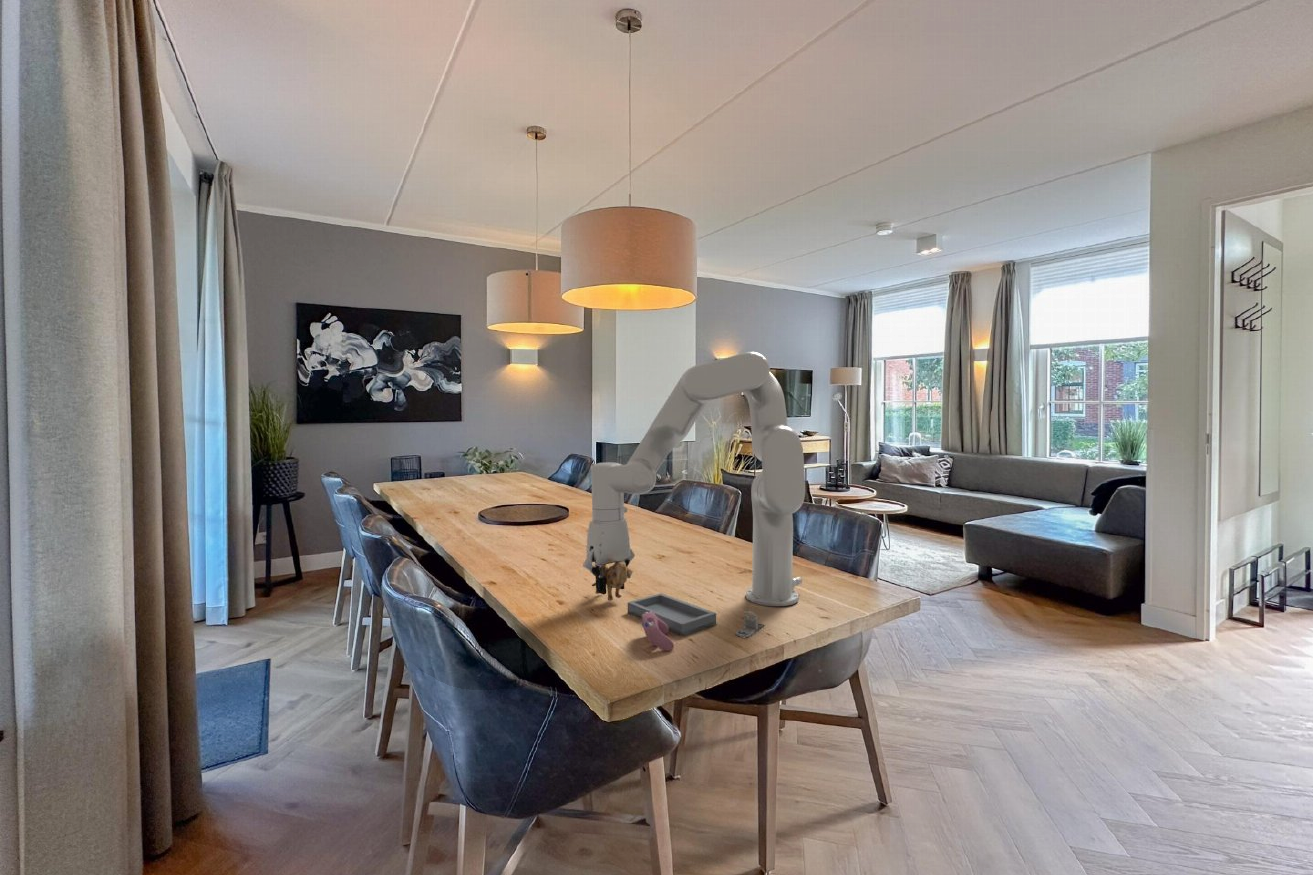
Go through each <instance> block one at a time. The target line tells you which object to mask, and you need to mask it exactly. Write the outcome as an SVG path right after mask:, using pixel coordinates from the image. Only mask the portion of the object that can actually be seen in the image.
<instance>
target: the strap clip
mask: <svg viewBox="0 0 1313 875" xmlns="http://www.w3.org/2000/svg"><path fill="white" fill-rule="evenodd" d="M747 615H750V616H754V618H752V617H748V616H747ZM758 619H759V618H758V615H757V613H755V612H753V611H749V610H748V611H745V612H744V614H743V621H744V623H743V624H744V627H741V628H740V629H738V630H737V631H736V633H735V636H736V635H737V636H736V637H738V636H740V637H739V638H742V637H745V638H744V639H749V637H750V636H751V637H753V636H754V635H755V634H756V632H759V631H761V630H762V628H763V629H764V628H765V627H764V626H765V624H763V623H759V621H758ZM760 625H763V626H760ZM754 633H755V634H754ZM753 634H754V635H753ZM752 635H753V636H752ZM751 637H750V638H751Z"/></svg>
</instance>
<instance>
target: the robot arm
mask: <svg viewBox="0 0 1313 875" xmlns="http://www.w3.org/2000/svg"><path fill="white" fill-rule="evenodd" d="M770 370H771V367H770V363H769V361H768V360H767V358H766V357H765V356H764V355H763V354H761V353H759V352H756V351H745V352H742V353H738V354H735V355H732V356H728V357H724V358H721V359H717V360H713V361H709V362H704V363H700V364H696V365H694V366H692V367H689V368H688V369H686V370H685V372H684V373H683V374H682V375H681V377H680V378H679V380H678V381H677V383H676V384H675V385H674V387H673V389H672V391H671V393H670V395H669V396H668V397H667V399H666V400H665V402H664V404H663V405H662V407H661V408H660V410H659V412H657V415H655V418H654V420H653V421H652V423H651V424H650V427H649V428H648V430H647V432H646V433H645V435H644V437H643V438H642V439H641V441H640V443H639V444H638V445H637V447H636V449H635V451H634V452H633V453H632V455H631V457H630V458H629V459H628V461H627V463H626V464H621V463H618V462H609V461H608V462H606V461H605V462H598V463H595V464H593V465H592V466H591V471H590V473H591V474H590V476H591V478H590V479H591V480H590V481H591V505H592V506H591V507H592V508H591V509H592V511H591V512H592V513H591V514H592V521H589V524H588V529H587V536H586V558H585V560H584V562H583V564H582V565H583V566H582V567H583V568H584V569H586V570H588V571H589V572H590V573H591V574H592V575H593V576H594V577H595V583H596V586H595V589H596V590H595V592H596V591H597V592H598V593H599V594H601V595H602V596H603V595H604V596H605V595H606V594H607V585H606V578H605V577H604V572H605V566H606V565H609V564H617V563H619V562H624V563H626V567H629V565H630V563H631V561H632V560H633V559H634V557H635V556H636V555H635V553H634V552H633V550H632V549H631V541H630V540H631V539H630V532H629V527H628V521H627V519H626V518H625V513H627V512H628V508H627V507H626V506H625V501H624V500H625V498H624V497H625V494H631V495H644V494H647V493H649V492H650V491H651V490H653V489H654V487H655V485H656V482H657V472H658V470H660V467H661V466H662V464H663V463H664V461H665V459H666V458H667V457H668V456H669V454H670V453H671V452H672V450H673V449H674V448H675V447H676V446H677V445H679V444H680V443H682V442H683V440H684V439H685V438H686V437H687V436H688V434H689V432H690V431H691V429H692V427H693V426H694V424H695V423H696V422H697V419H699V416H700V414H701V413H702V412H703V411H704V409H705V407H706V405H708V402H710V401H714V400H718V399H722V398H726V397H730V396H734V395H738V394H741V393H743V395H744V396H745V398H746V400H747V403H748V407H749V413H750V423H751V424H750V426H751V427H750V428H751V429H750V430H751V448H752V452H753V456H755V457H756V458H757V459H758V461H760V462H761V469H762V471H760V472H759V473H757V474H756V476H755V477H754V478H753V481H752V483H751V488H750V492H751V494H750V495H751V505H752V506H751V507H752V587H751V588H749V589H747V590H746V592H745V597H746V599H747V600H748V601H749V602H752V603H754V604H756V605H762V606H768V607H787V606H792V605H794V604H796V603H797V602H799V600H800V598H799V597H800V596H799V594H798V593H797V591H795V590H794V588H795V587H797V586H799V585H800V586H801V584H802V583H803V580H802V578H801V577H800V576H796V577H793V558H794V556H793V550H794V549H793V548H794V542H793V541H794V521H793V520H794V519H793V514H795V513H796V512H797V511H798V510H800V509H801V507H802V505H803V504H804V502H805V497H806V477H805V476H806V475H805V474H806V473H805V459H804V447H803V444H802V441H801V438H800V437H799V435H798V433H797V431H795V430H794V429H792V428H791V427H789V425H788V416H787V409H786V408H787V407H786V400H785V395H784V391H783V388H782V386H781V384H780V382H779V381H778V379H777V378H776V377H775V376H774V375H773V373H772V372H771V371H770ZM593 563H594V565H593ZM599 567H600V569H599ZM624 589H625V583H624V584H623V585H622V587H620V590H624Z"/></svg>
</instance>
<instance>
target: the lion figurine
mask: <svg viewBox="0 0 1313 875" xmlns="http://www.w3.org/2000/svg"><path fill="white" fill-rule="evenodd" d="M599 569H600V567H599ZM632 575H633V570H632V569H630V568H629V566H627V567H626V563H624V562H619V563H617V564H615V563H613V564H612V565H610V566H608V564H606V566H605V572H604V577H605V578H606V592H607V600H608V602H609V601H613V600H614V597H613V592H612V591H613V589H615V591H614V593H615V595H614V596H615V598H617V599H620V598H622V595H621V594H620V590H621V589H620V587H622V585H623V584H624V585H625V583H626V582H627V581H628V579H629V580H630V579H631V576H632ZM591 586H592V587H596V582H594V583H593V584H591ZM595 594H597V595H598V594H600V593H598V592H597V591H596V590H595Z"/></svg>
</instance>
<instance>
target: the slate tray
mask: <svg viewBox="0 0 1313 875" xmlns="http://www.w3.org/2000/svg"><path fill="white" fill-rule="evenodd" d="M650 611H651V612H652V613H654V614H655V615H656V616H657V617H658V618H659V619H661V620H662V621H663V622H665V623H666V624H667V625H668V627H669V632H670V633H674V634H676V635H678V636H681V637H685V636H687V635H690V634H694V633H697V632H699V631H702V630H705V629H708V628H711V627H714V626H716V625H717V612H714V611H711V610H708V609H706V608H703V607H701V606H697V605H694V604H692V603H688V602H687V601H685V600H684V601H683V600H681V599H679V598H675V597H673V596H670V595H667V594H665V593H657V594H651V595H649V596H644V597H642V598H639V599H635V600H630V601H627V614H628V615H631V616H634V617H636V618H638V619H641V620H642V615H643V614H644V613H646V612H650Z"/></svg>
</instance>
